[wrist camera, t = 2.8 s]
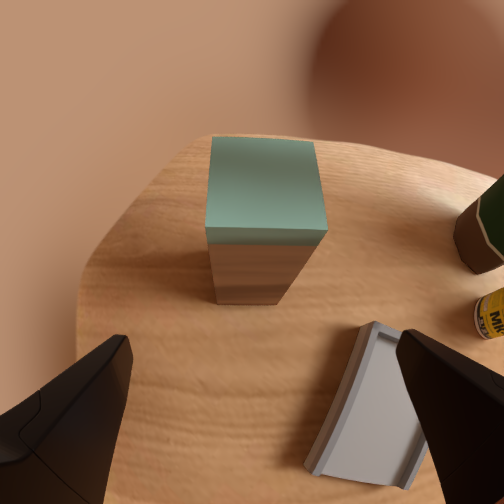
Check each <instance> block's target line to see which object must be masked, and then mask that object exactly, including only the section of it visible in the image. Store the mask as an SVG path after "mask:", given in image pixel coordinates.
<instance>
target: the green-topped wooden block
mask: <svg viewBox="0 0 504 504" xmlns="http://www.w3.org/2000/svg"><path fill="white" fill-rule="evenodd" d="M205 229H206V236H207V243H208V250H209V257H210V263H211V270H212V276H213V282H214V288H215V295H216V300H217V305H277V304H278V303H279V301H280V300H281V298H282V297H283V295H284V294H285V293H286V291H287V290H288V288H289V287H290V285H291V284H292V283H293V281H294V280H295V278H296V277H297V275H298V274H299V273H300V271H301V270H302V268H303V267H304V265H305V264H306V262H307V261H308V259H309V258H310V256H311V255H312V253H313V252H314V250H315V249H316V247H317V246H318V245H319V243H320V241H321V240H322V238H323V237H324V235H325V234H326V232H327V231H328V225H327V218H326V212H325V205H324V199H323V193H322V187H321V181H320V176H319V170H318V165H317V159H316V154H315V149H314V144H313V142H308V141H297V140H284V139H269V138H248V137H212V147H211V157H210V168H209V180H208V193H207V206H206V221H205Z"/></svg>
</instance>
